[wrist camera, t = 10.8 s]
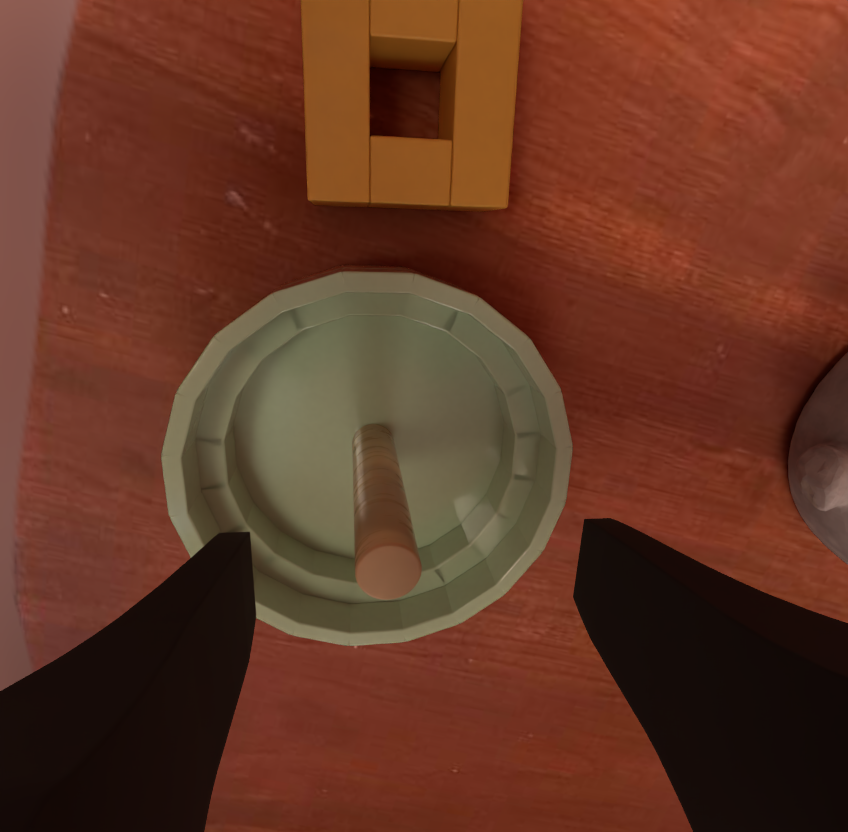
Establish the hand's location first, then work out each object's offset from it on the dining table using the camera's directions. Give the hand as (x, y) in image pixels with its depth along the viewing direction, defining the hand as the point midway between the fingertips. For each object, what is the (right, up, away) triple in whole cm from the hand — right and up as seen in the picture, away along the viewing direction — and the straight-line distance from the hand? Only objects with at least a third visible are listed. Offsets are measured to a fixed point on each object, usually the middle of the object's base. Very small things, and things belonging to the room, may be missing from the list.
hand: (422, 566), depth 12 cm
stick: (-2, +2, +9) cm, 10 cm away
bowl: (-2, +2, +10) cm, 10 cm away
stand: (-1, +13, +6) cm, 15 cm away
